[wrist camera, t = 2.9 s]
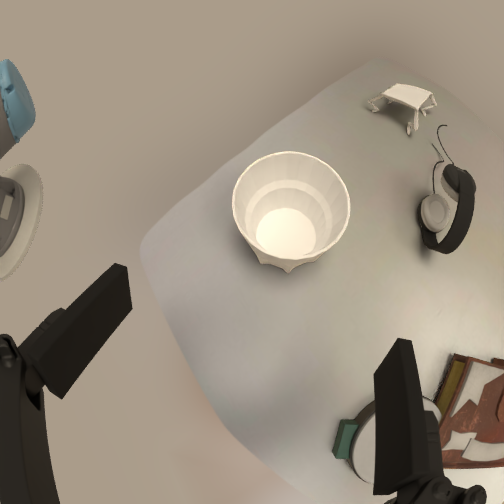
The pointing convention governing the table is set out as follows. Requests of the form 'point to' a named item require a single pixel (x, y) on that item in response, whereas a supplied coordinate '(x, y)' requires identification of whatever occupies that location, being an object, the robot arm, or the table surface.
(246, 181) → the cup
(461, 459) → the book
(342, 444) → the scale
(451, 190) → the headphones
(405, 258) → the table surface
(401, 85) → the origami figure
